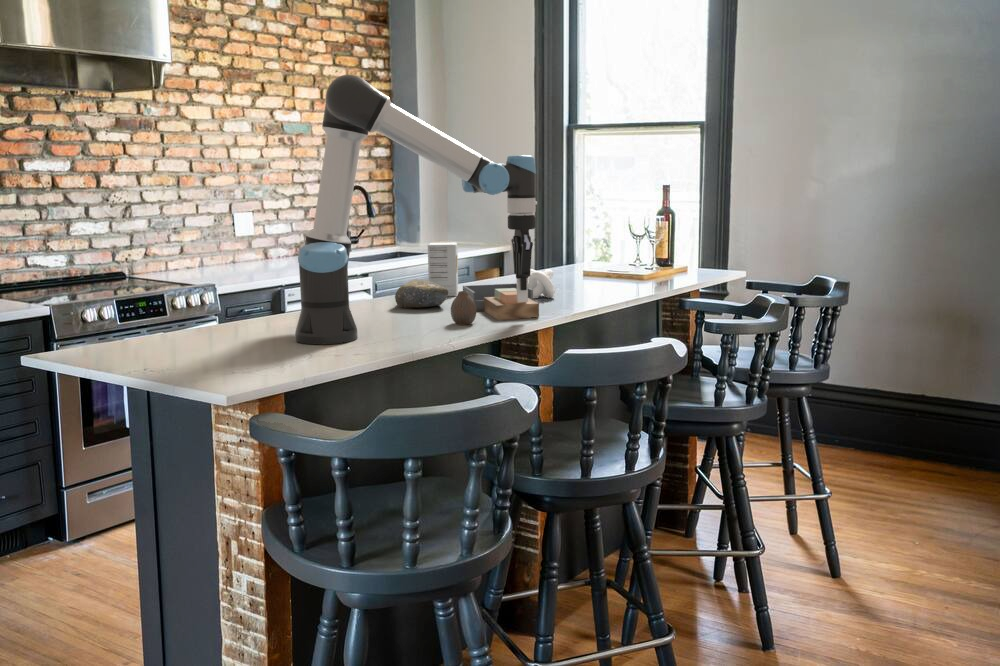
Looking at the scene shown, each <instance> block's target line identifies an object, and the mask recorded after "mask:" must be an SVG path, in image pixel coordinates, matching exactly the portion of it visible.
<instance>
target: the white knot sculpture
mask: <svg viewBox="0 0 1000 666" xmlns="http://www.w3.org/2000/svg"><path fill="white" fill-rule="evenodd" d="M553 276H554V272H553V270H552V269H550V268H546V269H545V270H544V271H540V270H536V269H533V268H531V270H530V277H528V288H530V289H532V290H533V300H534V299H536V298H539V297H541V295H543V296H544V297H546V298H548V299H552V298H553V297H555V294H556V289H555V285H554V284H553V282H552V279H553Z"/></svg>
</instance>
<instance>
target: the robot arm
mask: <svg viewBox="0 0 1000 666" xmlns="http://www.w3.org/2000/svg"><path fill="white" fill-rule="evenodd" d="M323 112H324V113H323V119H322V124H321V125H322V126H321V128H322V130H323V132H324V133H325V135H326V139H325V140H326V141H325V148H324V154H323V161H322V168H321V175H320V179H319V180H320V181H319V186H318V187H319V188H318V195H317V201H316V208H315V214H314V220H313V228H312V229H311V230H310V231H309V232H307V233H306V235H305V241H304V245H302V246H301V247H300V248H299V249H298V257H297V263H298V271H299V287H300V307H301V308H300V309H301V310H300V313H299V316H298V322H297V325H296V327H295V342H297V343H300V344H303V345H304V344H305V345H330V344H331V345H333V344H334V345H335V344H343V342H344V343H347V342H351V341H355V340H356V339H358V327H357V325H356V322H355V318H354V317H353V315H352V311H351V307H350V299H349V298H350V295H349V293H350V292H349V274H348V273H349V272H348V266H349V260H350V254H351V246H352V241H351V240H350V238H349V236H348V234H347V233H348V227H349V222H350V213H351V209H352V201H353V195H354V187H355V182H356V175H357V170H358V169H357V168H358V162H359V157H360V152H361V151H360V150H361V144H362V142H363V141H364V140H365V139H366V138H368V137H369V133H370V134H371V133H374V132H375V133H376V132H377V133H379V134H380V135H383V136H385V137H386V138H388V139H390V140H391V141H393V142H395V143H397V144H399V145H401V146H402V147H404V148H406V149H408V150H410V151H411V152H413V153H414V154H416V155H418V156H420V157H422V158H423V159H426V160H427V161H429V162H431V163H433V164H434V165H436V166H438V167H440V168H442V169H443V170H445V171H447V172H449V173H450V174H453V175H454V176H456V177H458V178H460V179H461V185H462V190H463V191H464V192H465V193H473V194H477V193H484V194H488V195H490V196H493V195H494V196H495V195H498V194H501V193H505V192H506V194H507V201H506V202H507V204H506V207H507V208H506V210H507V211H506V212H507V214H509V215H508V216H507V229H509V230H514V235H513V236H512V238H511V241H510V242H511V246H512V256H513V257H512V259H513V273H514V275H515V279H516V283H517V302H528V282H529V280H528V277H530V270H531V269H532V268H531V266H532V250H533V245H534V242H533V241H532V240H531V236H530V230H536V228H537V225H536V224H537V217H536V215H535V213H536V212H537V211H536V208H537V207H536V205H538V201H536V181H537V179H536V175H537V170H536V169H537V168H536V160H535V157H534V156H533V155H527V154H526V155H525V154H523V155H515V154H514V155H507V157H506V162H501V163H498V162H494V161H492V160H491V159H489V158H487V157H485V156H483V155H482V154H480V153H479V152H477V151H475V150H473V149H472V148H470V147H468V146H467V145H465V144H463V143H462V142H460V141H458V140H456V139H455V138H453V137H451V136H449V135H447V134H446V133H444V132H442V131H440V130H439V129H437V128H436V127H434V126H433V125H432V126H431V125H430V124H428V123H426V121H423V120H422V119H420V118H418V117H416V116H414V115H413V114H411V113H409V112H407V111H406V110H404V109H402V108H401V107H399V106H397V105H395V104H394V103H393V102H392V101H391V98H390V97H389V96H388V95H387V94H385V93H383V92H382V91H380V90H378V89H377V88H375V86H373V85H371V84H370V83H369V82H368V81H366V80H365V79H364V78H362V77H360V76H358V75H353V74H344V75H340V76H338V77H336V78H335V79H334V80H332V81H331V82H330V84H329V85H328V87H327V89H326V93H325V105H324V111H323Z"/></svg>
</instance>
